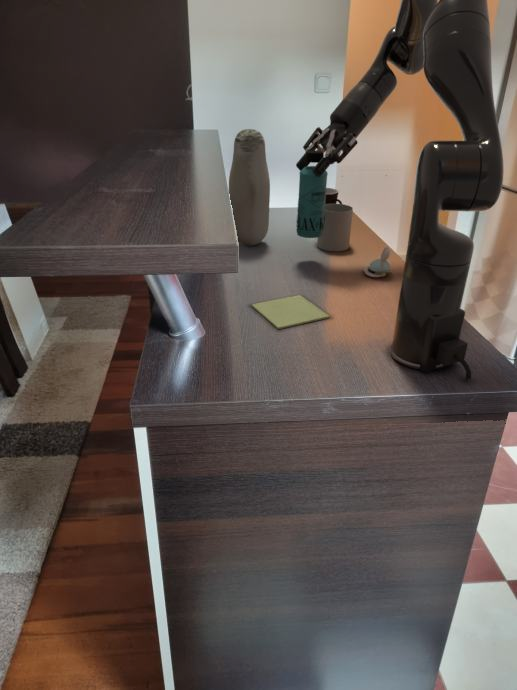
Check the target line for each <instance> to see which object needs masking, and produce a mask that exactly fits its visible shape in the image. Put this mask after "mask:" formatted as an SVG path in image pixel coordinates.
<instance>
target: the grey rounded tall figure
mask: <svg viewBox="0 0 517 690" xmlns="http://www.w3.org/2000/svg"><path fill="white" fill-rule="evenodd" d="M269 173H270V172H269V167H268V162H267V154H266V142H265V138H264V135H263V134H262V133H261V132H260V131H259V130H256V129H252V128H245V129H242V130H240V131H239V132H238V133H237V134H236V135H235V138H234V141H233V153H232V161H231V167H230V170H229V176H228V195H229V194H230V200H231V205H232V208H233V215H234V220H235V225H236V230H237V236H238V241H239V242H238V241H237V242H238V243H240V244H242V245H244V246H254V245H258V244H260V243H261V242H262V241H263V240H264V239H265V238H266V236H267V235H268V231H269V224H270V201H271V200H270V199H271V198H270V197H271V181H270V180H271V179H270V174H269Z"/></svg>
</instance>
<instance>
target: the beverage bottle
mask: <svg viewBox="0 0 517 690" xmlns="http://www.w3.org/2000/svg"><path fill="white" fill-rule="evenodd" d="M305 152H306V151H305ZM322 157H325V152H322V151H316V150H315V151H307V152H306V157H305V161H306V162H310V164H311V163H313V164H315V163H316V164H317V163H318V162H319V161H320V160H321V159H322ZM315 166H316V165H308V166H307V167H304V168H303V169H302V170H301V171H300V170H299V183H298V200H297V209H296V210H297V216H296V224H295V225H296V226H295V227H296V231H295V233H296V235H297V236H298V237H301V238H305V239H316V238H317V239H318V237H321V236H322V234H323V231H324V230H323V229H324V223H325V221H324V220H325V200H326V195H327V194H326V188H327V185H328V175H329V174H328V173H329V172H328V171H327V169H326V170H325V172H324V173H323V174H322V175H321V176H320V177H317V176H316V175H315V174H314V173H313V168H314V167H315Z"/></svg>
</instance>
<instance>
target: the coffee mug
mask: <svg viewBox="0 0 517 690" xmlns="http://www.w3.org/2000/svg"><path fill="white" fill-rule="evenodd" d="M326 194H327V195H326V200H325V204H343V202H342V200H340V199H338V198H339V196H338V195H339V190H338V189H336V188H331V187H326ZM337 202H338V203H337Z"/></svg>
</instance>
